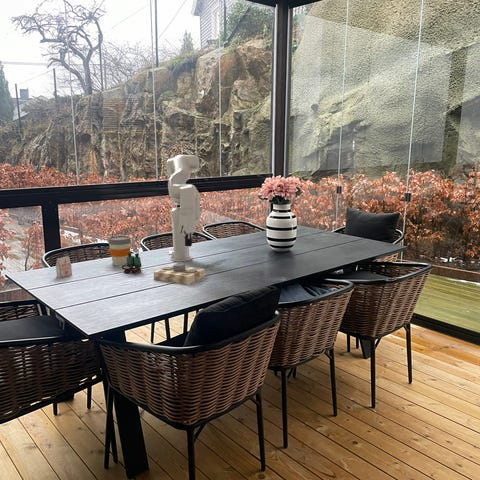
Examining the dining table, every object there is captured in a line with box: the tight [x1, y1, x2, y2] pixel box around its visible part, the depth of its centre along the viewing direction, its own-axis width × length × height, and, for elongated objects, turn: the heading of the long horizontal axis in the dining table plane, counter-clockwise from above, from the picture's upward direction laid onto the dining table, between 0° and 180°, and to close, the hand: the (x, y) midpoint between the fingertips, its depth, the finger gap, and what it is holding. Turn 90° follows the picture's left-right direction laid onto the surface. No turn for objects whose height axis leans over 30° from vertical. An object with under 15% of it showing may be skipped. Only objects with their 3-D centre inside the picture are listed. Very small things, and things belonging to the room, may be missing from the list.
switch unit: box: [153, 264, 206, 285], centre depth 252 cm, size 21×16×4 cm
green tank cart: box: [121, 251, 143, 275], centre depth 261 cm, size 9×11×10 cm
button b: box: [172, 262, 186, 272], centre depth 251 cm, size 4×4×4 cm
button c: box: [185, 270, 197, 274], centre depth 249 cm, size 4×4×4 cm
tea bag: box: [55, 256, 73, 279], centre depth 256 cm, size 4×7×10 cm, turn 141°
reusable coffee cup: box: [107, 235, 131, 266], centre depth 281 cm, size 13×13×15 cm
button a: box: [161, 266, 174, 271], centre depth 255 cm, size 4×4×4 cm
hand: (188, 245), depth 250 cm, fingers closed
